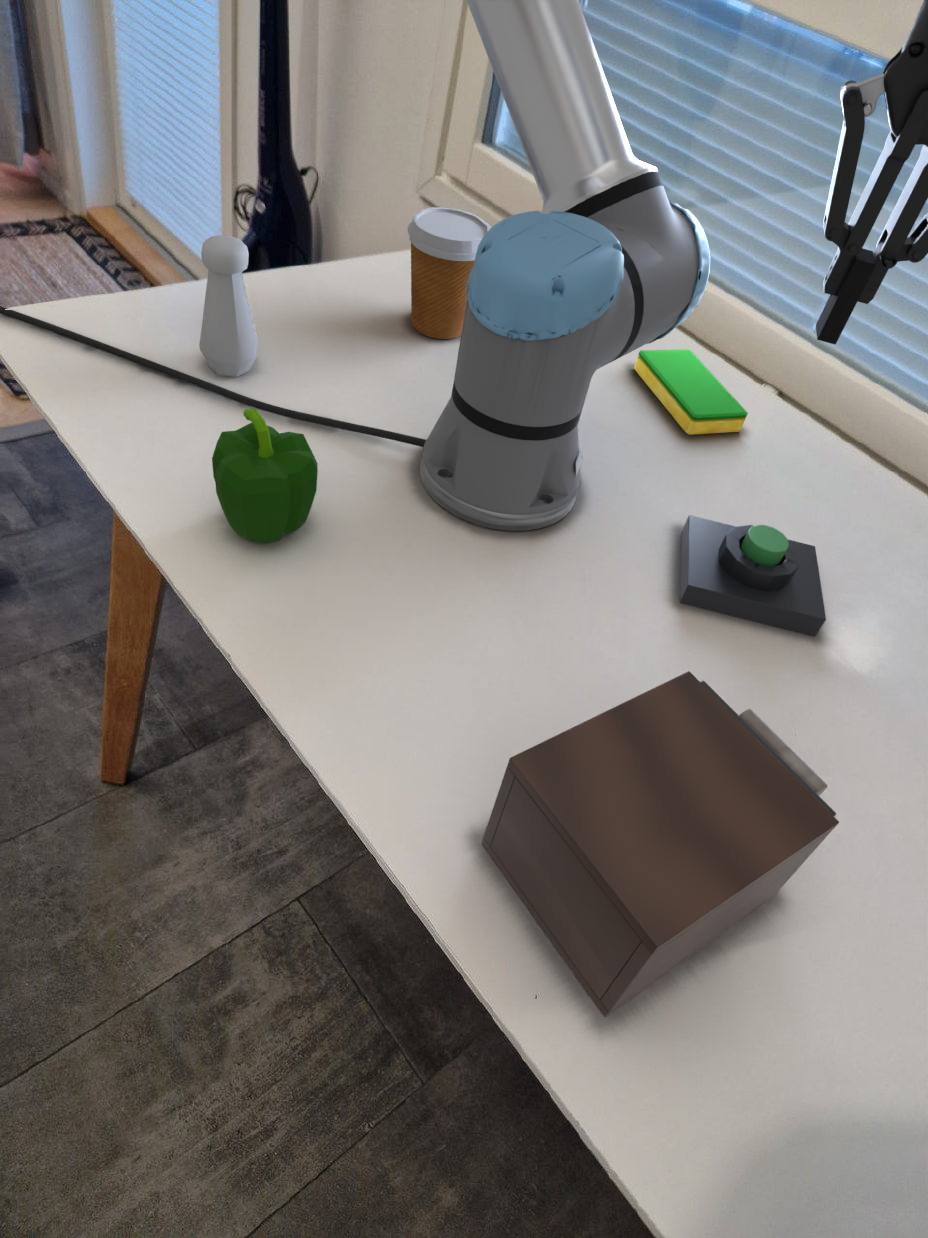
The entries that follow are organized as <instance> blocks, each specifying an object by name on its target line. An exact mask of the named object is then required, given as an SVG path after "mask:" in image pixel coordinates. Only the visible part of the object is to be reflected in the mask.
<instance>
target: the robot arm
mask: <svg viewBox="0 0 928 1238" xmlns="http://www.w3.org/2000/svg"><path fill="white" fill-rule="evenodd" d="M466 3H467V6H468V8H469V11H470V13H471V16H472V18H473V21H474V24H475V26H476V30H477V32H478V35H479V37H480V39H481V43H482V44H483V47H484V50H485V53H486V55H487V58H488V60H489V63H490V66H491V68H492V71H493V74H494V76H495V79H496V81H497V84H498V87H499V89H500V93H501V95H502V97H503V100H504V102H505V105H506V108H507V111H508V113H509V116H510V119H511V121H512V123H513V125H514V128H515V131H516V134H517V136H518V139H519V142H520V145H521V147H522V149H523V152H524V155H525V158H526V160H527V163H528V165H529V168H530V170H531V173H532V175H533V178H534V182H535V183H536V186H537V188H538V191H539V194H540V196H541V200H542V210H541V211H540V210H531V211H525V212H521V213H516V214H513V215H511V216H508V217H505V218H503V219H502V220H499V221H498V222H496V223H495V224H494V225H493V226H490V229H489V230H488V231H487V233H486V234H485V235H484V236H483V238H482V240H481V241H480V243H479V246H478V249H477V252H476V257H475V261H474V265H473V268H472V270H471V273H470V275H469V278H468V283H467V302H466V308H465V315H464V321H463V327H462V333H461V335H460V340H459V346H458V352H457V359H456V366H455V371H454V377H453V383H452V390H451V395H450V398H449V400H448V401H447V403H446V405H445V407H444V408H443V410H442V412H441V414H440V415H439V417H438V419H437V421H436V423H435V424H434V426H433V428H432V430H431V432H430V433H429V435H428V437H427V438H422V437H421V438H420V437H418V436H412V435H408V434H403V433H399V432H395V431H390V430H387V429H386V430H385V429H381V428H376V427H371V426H366V425H361V424H357V423H352V422H346V421H343V420H338V419H334V418H329V417H325V416H320V415H315V414H312V413H311V414H310V413H307V412H301V411H297V410H293V409H289V408H285V407H281V406H278V405H274V404H270V403H266V402H263V401H261V400H257V399H254V398H253V397H252V398H251V397H248V396H246V395H243V394H240V393H237V392H234V391H232V390H230V389H227V388H225V387H222V386H219V385H217V384H214V383H212V382H210V381H206V380H204V379H201V378H198V377H195V376H194V375H191V374H187V373H185V372H182V371H180V370H176V369H174V368H171V367H169V366H166V365H163V364H161V363H158V362H155V361H153V360H150V359H147V358H144V357H142V356H139V355H136V354H134V353H131V352H129V351H126V350H123V349H120V348H117V347H115V346H112V345H110V344H108V343H105V342H102V341H99V340H97V339H94V338H91V337H88V336H85V335H83V334H80V333H77V332H74V331H71V330H69V329H66V328H64V327H62V326H58V325H56V324H53V323H50V322H47V321H44V320H42V319H39V318H36V317H33V316H31V315H28V314H26V313H22V312H19V311H16V310H13V309H11V310H5V309H9V308H8V307H5V306H2V305H0V315H3V316H5V317H8V318H12V319H14V320H17V321H20V322H23V323H26V324H28V325H31V326H35V327H36V328H39V329H42V330H46V331H48V332H51V333H52V334H53V333H54V334H56V335H58V336H62V337H65V338H67V339H70V340H72V341H75V342H78V343H80V344H83V345H86V346H88V347H91V348H94V349H96V350H100V351H102V352H105V353H107V354H110V355H113V356H115V357H117V358H120V359H124V360H125V361H128V362H132V363H133V364H135V365H139V366H142V367H145V368H148V369H150V370H153V371H156V372H158V373H161V374H163V375H166V376H169V377H171V378H174V379H177V380H179V381H182V382H185V383H188V384H190V385H193V386H195V387H199V388H201V389H204V390H206V391H208V392H211V393H214V394H217V395H219V396H222V397H224V398H227V399H229V400H232V401H234V402H237V403H240V404H241V405H242V404H243V405H245V406H249V407H250V408H253V409H257V410H261V411H264V412H268V413H271V414H274V415H278V416H281V417H285V418H288V419H294V420H297V421H298V420H299V421H302V422H306V423H307V422H308V423H312V424H317V425H320V426H326V427H331V428H336V429H340V430H344V431H347V432H348V431H349V432H353V433H358V434H363V435H367V436H372V437H378V438H382V439H386V440H391V441H395V442H399V443H404V444H409V445H411V446H417V447H422V451H421V459H420V466H419V474H420V479H421V480H420V481H421V482H422V484H423V487H424V489H425V490H426V492H427V493H428V495H429V496H430V497H431V498H432V499H433V500H434V501H435V502H436V503H437V504H438V505H439V506H441V507H442V508H443V509H444V510H445V511H447V512H448V513H451V515H454V516H456V517H458V518H460V519H462V520H464V521H467V522H469V523H471V524H474V525H477V526H481V527H484V528H489V529H494V530H500V531H508V532H509V531H510V532H511V531H513V532H521V531H522V532H523V531H533V530H538V529H542V528H545V527H549V526H552V525H554V524H555V523H558V522H559V521H560V520H562V519H563V518H565V517H566V516H567V515H568V514H569V513H570V512H571V510H572V509H573V508H574V505H575V504H576V500H577V497H578V495H579V491H580V488H581V483H582V470H581V469H582V468H581V464H582V462H583V445H581V447H580V441H579V429H578V428H579V427H578V426H579V422H580V418H581V414H582V413H583V412H582V411H583V408H584V405H585V402H586V399H587V395H588V391H589V388H590V384H591V382H592V378H593V376H594V374H595V372H596V371H598V370H599V369H600V368H603V367H604V366H606V365H608V364H610V363H612V362H615V361H616V360H618V359H620V358H622V357H624V356H626V355H628V354H630V353H632V352H634V351H635V350H637V349H639V348H641V347H644V346H645V345H648V344H652V343H654V342H655V341H657V340H661V339H663V338H665V337H666V336H668V335H669V334H671V332H672V331H673V330H675V329H676V327H678V326H680V325H681V324H683V323H684V322H685V321H687V319H688V318H690V316H691V315H692V314H693V312H694V311H695V310H696V308H697V307H698V306H699V304H700V301H701V300H702V299H703V295H704V293H705V291H706V289H707V285H708V282H709V279H710V278H709V277H710V271H711V253H710V247H709V242H708V238H707V235H706V233H705V231H704V228H703V226H702V224H701V223H700V221H699V220H698V218H697V217H696V216H695V215H694V214H693V213H692V212H691V211H690V210H689V209H687V208H683V207H682V206H681V205H679V204H678V203H676V202H674V201H672V200H669V199H668V196H667V192H666V190H665V187H664V184H663V181H662V178H661V176H660V173H659V170H658V167H656V166H654V165H652V164H650V163H647V162H644V161H642V160H639V158H637V157H636V156H635V155H634V154H633V151H632V148H631V146H630V143H629V140H628V138H627V134H626V131H625V129H624V126H623V123H622V121H621V118H620V114H619V112H618V110H617V106H616V103H615V100H614V97H613V94H612V92H611V89H610V86H609V83H608V81H607V78H606V74H605V72H604V69H603V66H602V63H601V61H600V58H599V54H598V51H597V49H596V46H595V43H594V41H593V38H592V35H591V32H590V29H589V26H588V24H587V21H586V18H585V15H584V13H583V10H582V7H581V3H580V1H579V0H466ZM839 90H840V91H839V96H840V102H841V103H840V104H841V109H842V118H843V121H842V127H841V130H840V131H841V132H840V136H839V141H838V146H837V151H836V157H835V161H834V166H833V170H832V175H831V176H832V177H831V181H830V185H829V190H828V196H827V201H826V206H825V211H824V215H823V221H822V225H823V233H824V238H825V239H826V240H827V241H829V242H831V243H834V244H835V245H836V246H837V250H836V252H835V254H834V256H833V258H832V260H831V262H830V264H829V267H828V268H827V272H826V273H825V275H824V277H823V285H822V286H823V293H824V294H827V295H828V299H827V301H826V303H825V305H824V307H823V309H822V311H821V313H820V315H819V317H818V320H817V321H816V323H815V332H816V340H817V341H820V342H824V343H827V344H831V345H836V344H837V343H838V341H839V339H840V337H841V335H842V333H843V331H844V329H845V327H846V325H847V323H848V321H849V319H850V317H851V316H852V313H853V311H854V310H855V307H856V305H857V304H858V303H862V304H865V305H868V304H870V302H872V300H874V298H875V296H876V294H877V292H878V290H879V289H880V286H881V285H882V283H883V281H884V279H885V277H886V275H887V273H888V272H889V269H893V268H894V267H896V265H897V264H898V263H900V262H910V263H913V264H914V263H920V262H921V261H923V260H924V258H926V256H928V211H927V212H926V213H925V214H924V215H923V217H922V218H921V219H920V220H919V222H918V223H917V224H916V222H917V219H918V218H919V216H920V214H921V212H922V210H923V209H924V206H925V205H926V202H927V201H928V0H923V1H922V3H921V6H920V7H919V10H918V12H917V14H916V16H915V18H914V21H913V23H912V25H911V28H910V30H909V32H908V34H907V37H906V39H905V41H904V43H903V45H902V46H901V48H900V50H898V52H897V53H896V54H895V55H894V56H893V57H892V58H890V59H889V60H888V62H887V63H886V64H885V66H884V69H883V70H882V73H880V74H876V75H875V76H871V77H869V78H866V79H863V80H861V81H858V82H857V81H856V80H847V81H845V82H844V83H843V85H842V86H841V87H840V89H839ZM882 95H884V100H885V107H886V115H887V119H888V125H889V128H890V131H889V132H888V134H887V137H886V139H885V142H884V147H883V149H882V150H881V153H880V154H879V157H878V159H877V161H876V163H875V166H874V169H873V170H872V172H871V174H870V176H869V179H868V180H867V183H866V185H865V187H864V189H863V191H862V193H861V195H860V197H859V200H858V201H857V204H856V206H855V208H854V210H853V212H852V214H851V217H850V219H849V221H848V222H846V218H847V212H848V209H849V205H850V200H851V194H852V190H853V185H854V181H855V176H856V172H857V167H858V163H859V158H860V153H861V149H862V144H863V140H864V134H865V128H866V127H865V126H866V125H865V124H866V118H868V117H870V116H871V115H872V114H874V112H875V111H876V107H877V102H878V100H879V98H880V96H882ZM916 145H917V146H918V145H922V148H921V150H920V154H919V157H918V160H917V161H916V163H915V165H914V167H913V170H912V171H911V173H910V175H909V177H908V179H907V182H906V184H905V186H904V188H903V189H902V192H901V194H900V195H899V198H898V199H897V201H896V203H895V206H894V208H893V209H892V212H891V214H890V215H889V218H888V219H887V221H886V224H885V226H884V228H883V230H882V232H881V234H880V236H879V237H878V240H877V242H876V245H875V249H874V251H873V250H870V249H866V248H864V246H865V243H866V241H867V239H868V238H869V236H870V233H871V231H872V229H873V228H874V225H875V223H876V221H877V219H878V217H879V215H880V213H881V211H882V210H883V207H884V205H885V203H886V201H887V199H888V198H889V195H890V193H891V191H892V190H893V187H894V185H895V183H896V181H897V179H898V177H899V175H900V173H901V171H902V168H903V166H904V165H905V163H906V161H908V159H910V156H911V154H912V152H913V151H914V148H915V147H916ZM915 224H916V225H915ZM914 226H915V227H914Z"/></svg>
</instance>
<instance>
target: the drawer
mask: <svg viewBox="0 0 928 1238" xmlns="http://www.w3.org/2000/svg"><path fill="white" fill-rule="evenodd" d="M700 682H701V683H702V684H703V685H704V686H705V687H706V688H707V689H708V690H709V691H710V692H711V693H712V694H713V695H714V696H715V697H716V699H717V700H718V701H719V702H720V703H721V704H722V705H723V706H724V707H725V708H726V709H727V710H728V711H729V712H730V713H731V714H732V715H733V716H734V717H735V718H736V719H737V720H738V721H739V722H740V723H741V724H742V725H743V726H744V727H745V728H746V729H747V730H748V731H749V732H750V733H751V734H752V735H753V736H754V737H755V738H756V739H757V740H758V741H759V742H760V743H761V744H762V745H763V746H764V747H765V748H766V749H767V750H768V751H769V752H770V753H771V754H772V755H773V756H774V757H775V758H776V759H777V760H778V761H779V762H780V763H781V764H782V765H783V766H784V767H785V768H786V769H787V770H788V771H789V772H790V773H791V774H792V775H793V776H794V777H795V778H796V779H797V780H798V781H799V782H800V783H801V784H802V785H803V786H804V787H805V788H806V789H807V790H808V791H809V792H810V793H811V794H812V795H813V796H814V797H815V798H816V799H817V800H818V801H819V802H820V803H821V804H822V805H823V806H824V807H825V808H826V809H827V810H828V811H829V812H830V813H831V814H832V815H833V816H834V817H835V818H836V816H837V812H836V811H835V810H834V809H833V808H832V807H831V806H830V805H829V804H828V803H827V802H826V801H825V800H824V799H823V798H822V797H821V796H820V795H822V794H823V793H824V792H825V791H826V790H827V788H828V784H827V783H826V782H825V781H824V780H823V779H822V778H821V777H820V776H819V775H818V774H817V773H816V772H815V771H814V770H813V769H812V768H811V767H810V766H809V765H808V764H807V763H806V762H805V761H804V760H803V759H802V758H801V757H799V755H798V754H797V753H795V751H794V750H792V748H791V747H790V746H789V745H788V744H786V742H785V741H783V740H782V739H781V738H780V736H778V734H776V732H775V731H773V730H772V729H771V728H770V727H769V726H768V724H766V723H765V722H764V721H763V720H762V719H761V718H760V717H759V716H758V715H757V713H755V712H754V711H753V710H752V709H751V708H748V709H745V710H744V711H742V712H741V713H740V714H738V713H737V712H736V711H735V710H734V709H733V708H732V707H731V706H730V705H729V704H728V703H727V702H726V701H725V700H724V699H723V698H722V697H721V696H720V695H719V694H718V693H717V692H716V691H715V690H714V689H713V688H712V686H710V685H709V684H708V683H707V682H706V681H705V680H701V681H700Z"/></svg>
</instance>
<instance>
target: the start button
mask: <svg viewBox="0 0 928 1238" xmlns="http://www.w3.org/2000/svg"><path fill="white" fill-rule="evenodd" d="M787 539H788V538H787V537H786V535H785V534H784V533H783V532H781V531H780V530H778V529H777V528H775V527H772V526H770V525H766V524H756V525H754V526H753V527H751V528H750V529H749V530H748V532H747V534H746V536H745V538H744V540H743V542H742V544H741V551H742V552H743V553H744V554H745V556H746V557H748V558H750V559H751V560H753V561H755V562H756V563H758V564H762V565H766V566H776V565H778V564H779V563H780V561H781V560H782V558H783V556H784V554H785V552H786V551H787V549H788V547H789V542H788V540H789V539H788V540H787Z"/></svg>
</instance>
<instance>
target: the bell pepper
mask: <svg viewBox="0 0 928 1238" xmlns="http://www.w3.org/2000/svg"><path fill="white" fill-rule="evenodd" d="M243 417H244V418H245V419H246V421H250V423H248V424H246V425H245V426H242V427H240V428H237V429H235V430H226V431H221V433H220V435H219V437H218V439H217V440H216V444H215V447H214V450H213V453H212V457H211V462H212V463H211V465H212V474H213V475H212V476H213V479H214V483H215V492H216V496H217V499H218V501H219V504H220V507H221V509H222V512H223V515H224V516H225V518H226V520H227V522H228V524H229V526H230V527H231V529H232V530H233V531H234V532H235V533H236V534H237V535H238V536H240V537H242V538H243V539H245V540H247V541H249V542H251V543H261V544H270V543H271V544H272V543H274V542H277V541H281V540H282V539H283V537H284V535H285V534H292V533H294V532H296V531H298V530H299V529H300V528H301V527H303V526H304V524H305V523H306V522H307V520H308V517H309V514H310V511H311V509H312V506H313V503H314V500H315V497H316V493H317V490H318V489H317V487H318V474H319V473H318V472H319V468H318V467H319V466H318V465H319V464H318V461H317V459H316V457H315V455H314V453H313V450H312V448H311V446H310V444H309V442H308V441H307V438H306V437H305V434H304V433H299V432H293V431H284V432H279V431H277V430H276V428H275V427H273V426H270V425H268V424H267V422H266V420H265V418H264V417H263V416H262V414H261V413H260V412H259V411H258V410H256V409H255V408H253V407H249V408H245V409H244V410H243Z"/></svg>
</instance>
